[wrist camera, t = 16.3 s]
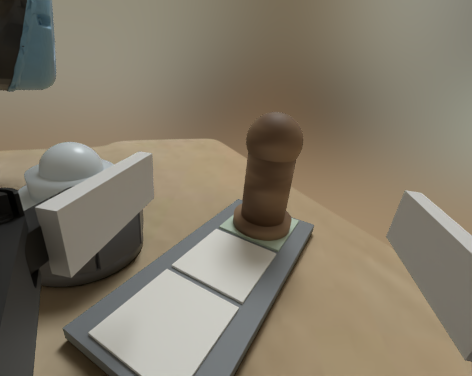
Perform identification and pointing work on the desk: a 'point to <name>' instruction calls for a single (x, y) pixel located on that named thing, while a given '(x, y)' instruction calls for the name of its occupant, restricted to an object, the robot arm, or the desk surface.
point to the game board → (190, 304)
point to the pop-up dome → (60, 171)
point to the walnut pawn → (268, 177)
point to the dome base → (103, 257)
